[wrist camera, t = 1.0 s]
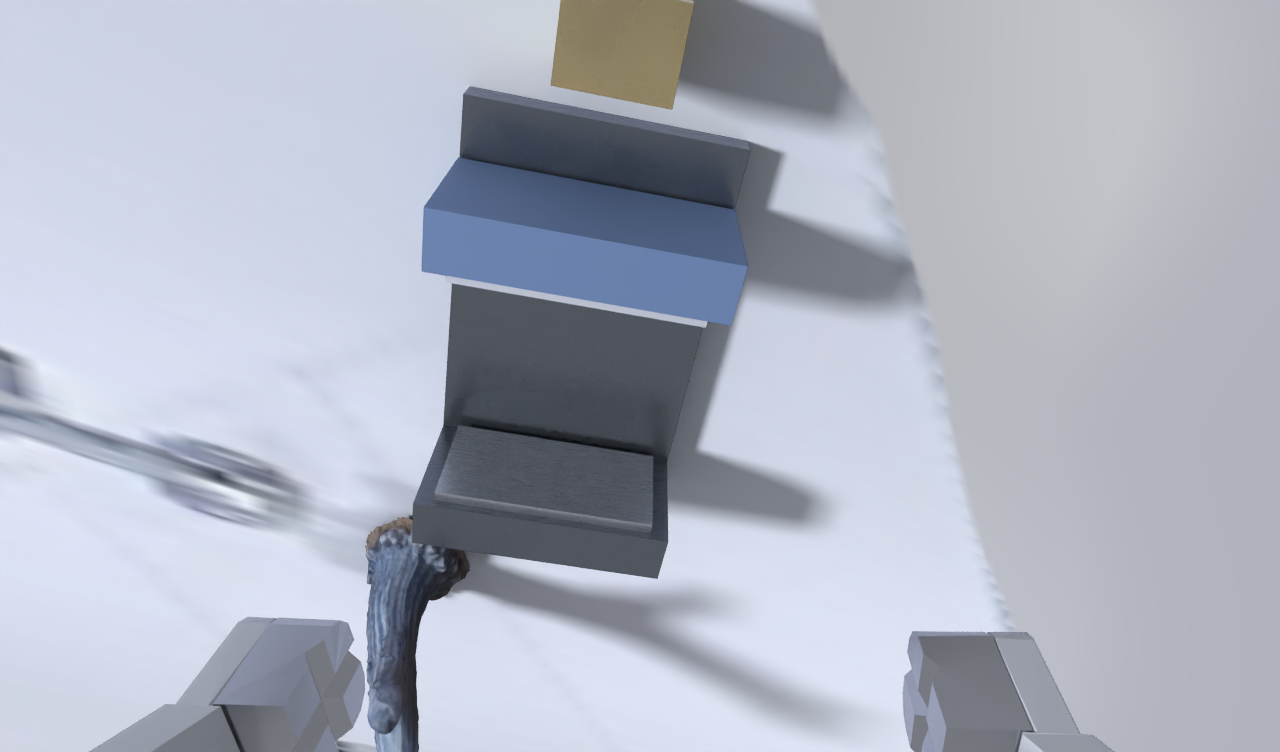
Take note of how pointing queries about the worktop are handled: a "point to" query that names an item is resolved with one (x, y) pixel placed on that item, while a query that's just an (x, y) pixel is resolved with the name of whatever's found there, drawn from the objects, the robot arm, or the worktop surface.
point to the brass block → (622, 48)
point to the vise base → (566, 363)
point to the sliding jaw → (584, 244)
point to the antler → (401, 625)
